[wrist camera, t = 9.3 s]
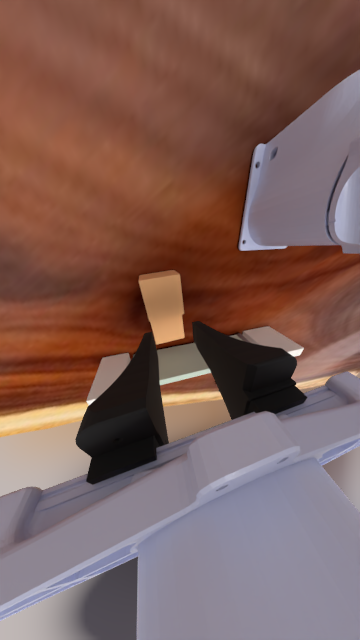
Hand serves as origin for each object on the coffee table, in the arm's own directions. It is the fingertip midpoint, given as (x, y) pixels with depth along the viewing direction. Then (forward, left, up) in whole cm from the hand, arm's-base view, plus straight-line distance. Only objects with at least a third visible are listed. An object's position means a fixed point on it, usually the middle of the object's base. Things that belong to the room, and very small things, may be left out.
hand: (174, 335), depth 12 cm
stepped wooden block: (+1, 0, -8) cm, 9 cm away
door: (+9, +4, -8) cm, 13 cm away
